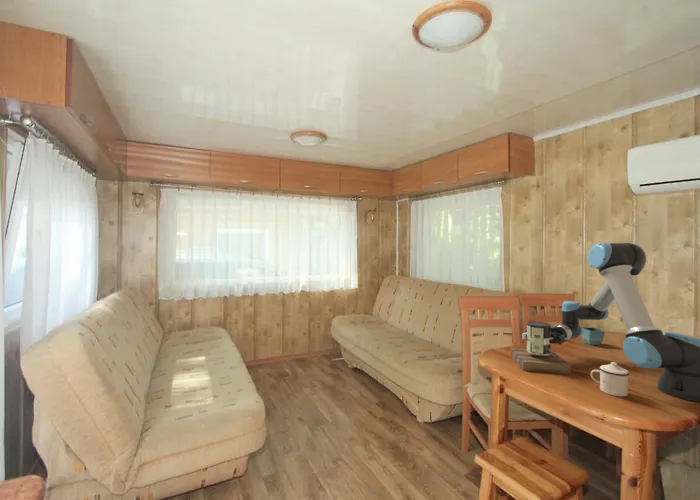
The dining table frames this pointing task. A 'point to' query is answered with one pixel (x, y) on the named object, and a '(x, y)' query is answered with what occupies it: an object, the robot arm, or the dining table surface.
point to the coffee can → (538, 338)
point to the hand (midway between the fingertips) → (533, 339)
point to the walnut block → (540, 362)
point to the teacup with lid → (613, 379)
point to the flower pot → (592, 335)
